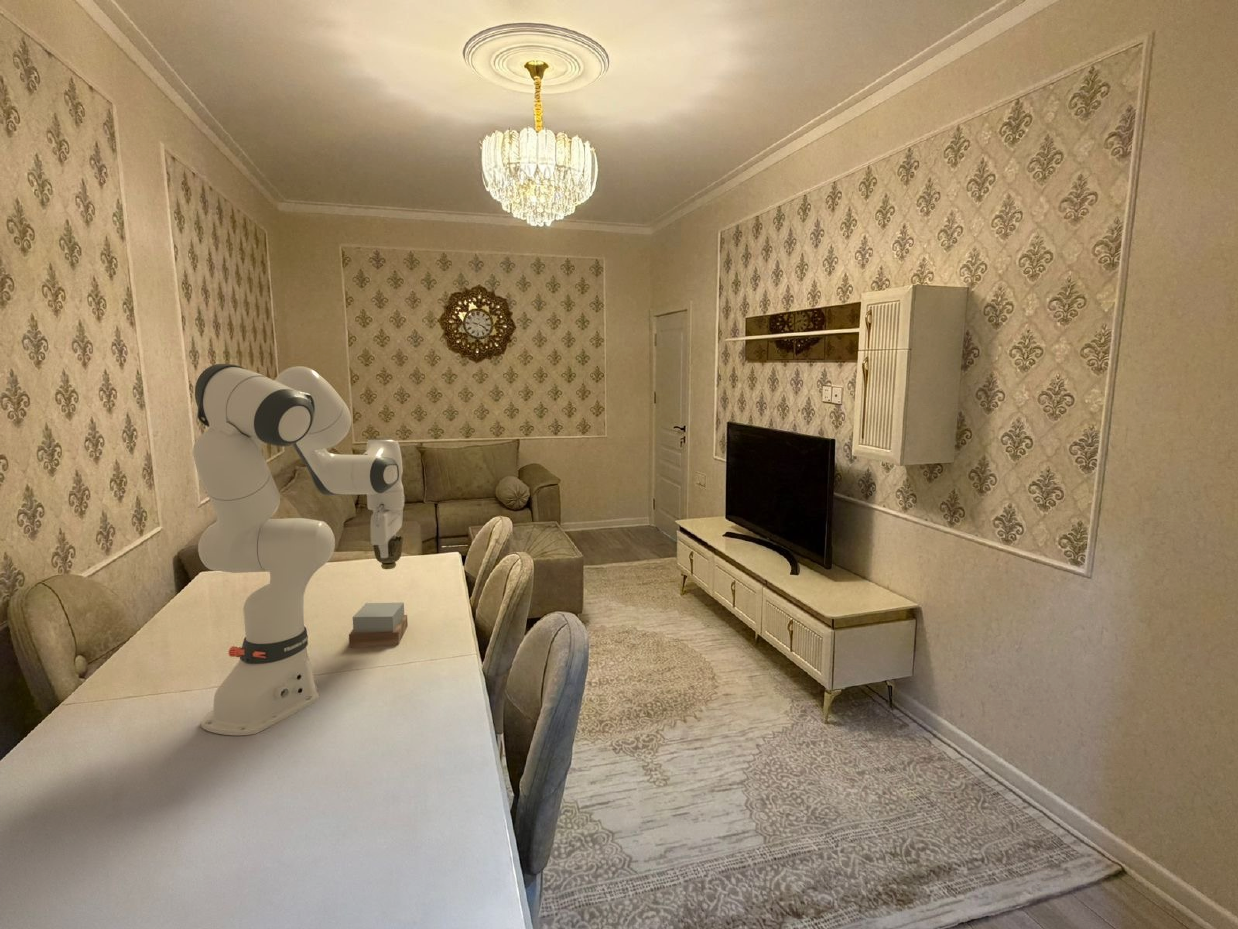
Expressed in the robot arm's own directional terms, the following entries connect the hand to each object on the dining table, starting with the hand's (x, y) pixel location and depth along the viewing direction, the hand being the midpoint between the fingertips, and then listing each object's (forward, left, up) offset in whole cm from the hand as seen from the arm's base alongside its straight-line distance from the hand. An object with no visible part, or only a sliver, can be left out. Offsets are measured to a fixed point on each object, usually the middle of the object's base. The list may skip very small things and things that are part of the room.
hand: (388, 553), depth 164 cm
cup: (0, 0, -4) cm, 4 cm away
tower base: (-1, +3, -23) cm, 23 cm away
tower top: (-1, +3, -19) cm, 19 cm away
